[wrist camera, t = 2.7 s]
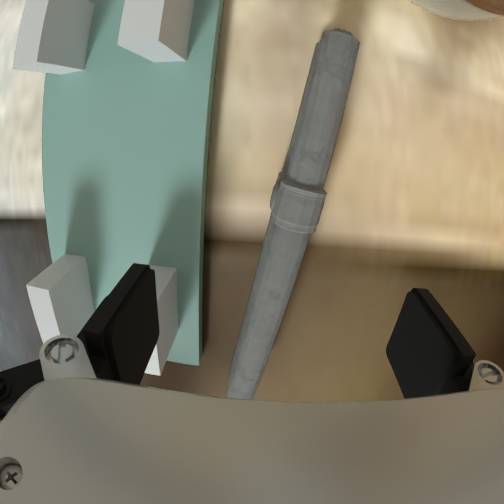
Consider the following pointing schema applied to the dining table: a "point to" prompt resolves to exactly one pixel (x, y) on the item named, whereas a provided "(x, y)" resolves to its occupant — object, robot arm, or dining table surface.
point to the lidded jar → (463, 9)
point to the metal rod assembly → (294, 207)
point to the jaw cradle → (123, 156)
